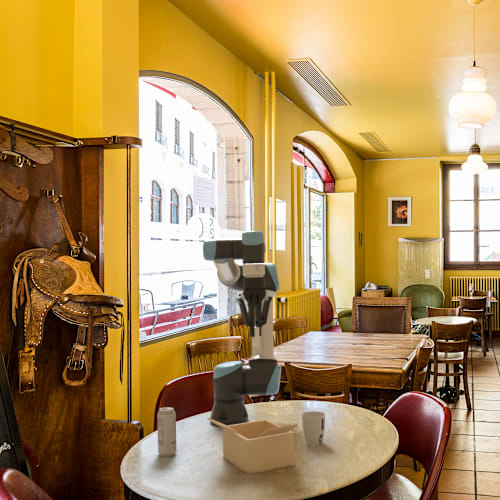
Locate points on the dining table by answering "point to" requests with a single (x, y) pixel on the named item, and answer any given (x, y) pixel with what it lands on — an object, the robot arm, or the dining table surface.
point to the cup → (313, 427)
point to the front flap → (278, 430)
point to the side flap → (223, 426)
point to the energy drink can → (166, 431)
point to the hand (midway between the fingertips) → (255, 346)
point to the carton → (257, 447)
